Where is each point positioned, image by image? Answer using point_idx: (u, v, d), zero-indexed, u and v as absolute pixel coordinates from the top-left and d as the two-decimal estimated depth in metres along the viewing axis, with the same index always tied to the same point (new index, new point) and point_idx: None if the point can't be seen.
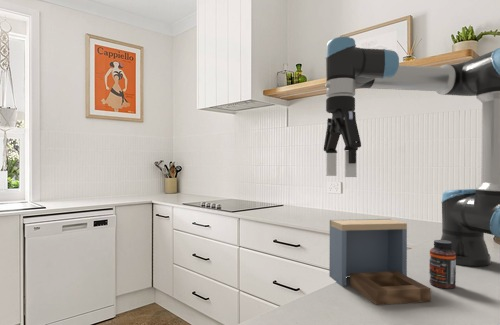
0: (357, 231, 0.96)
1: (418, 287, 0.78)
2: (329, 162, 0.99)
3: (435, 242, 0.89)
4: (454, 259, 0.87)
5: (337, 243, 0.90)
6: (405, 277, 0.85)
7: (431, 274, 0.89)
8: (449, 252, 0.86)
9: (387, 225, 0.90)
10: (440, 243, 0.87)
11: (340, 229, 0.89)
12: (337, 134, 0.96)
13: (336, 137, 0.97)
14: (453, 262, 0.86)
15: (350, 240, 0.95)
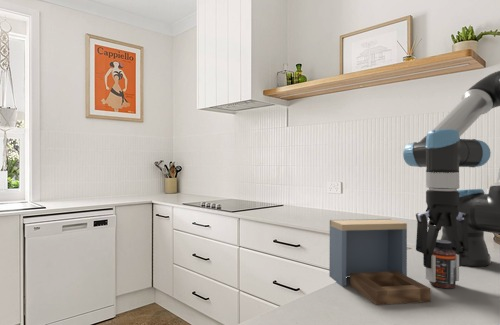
0: (357, 231, 0.96)
1: (418, 287, 0.78)
2: None
3: None
4: (454, 259, 0.87)
5: (337, 243, 0.90)
6: (405, 277, 0.85)
7: None
8: (449, 252, 0.86)
9: (387, 225, 0.90)
10: (440, 243, 0.87)
11: (340, 229, 0.89)
12: (449, 229, 0.89)
13: (450, 233, 0.89)
14: (453, 262, 0.86)
15: (350, 240, 0.95)
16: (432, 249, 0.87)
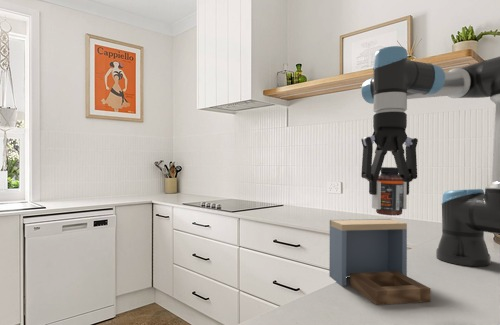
0: (357, 231, 0.96)
1: (418, 287, 0.78)
2: None
3: (381, 168, 0.83)
4: (400, 184, 0.81)
5: (337, 243, 0.90)
6: (405, 277, 0.85)
7: None
8: (395, 176, 0.81)
9: (387, 225, 0.90)
10: (386, 168, 0.82)
11: (340, 229, 0.89)
12: (397, 155, 0.84)
13: (398, 159, 0.84)
14: (399, 187, 0.81)
15: (350, 240, 0.95)
16: (377, 174, 0.82)
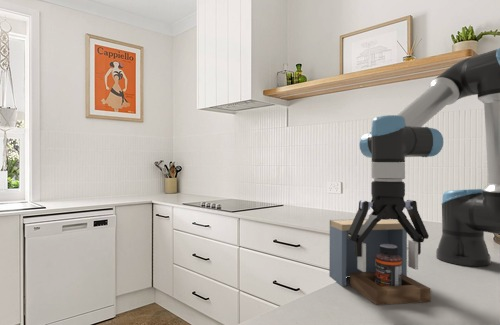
0: None
1: (418, 287, 0.78)
2: (410, 251, 0.85)
3: (380, 247, 0.83)
4: (399, 265, 0.81)
5: (337, 243, 0.90)
6: (405, 277, 0.85)
7: (376, 281, 0.83)
8: (394, 257, 0.81)
9: (387, 225, 0.90)
10: (385, 248, 0.82)
11: (340, 229, 0.89)
12: (401, 220, 0.83)
13: (403, 223, 0.84)
14: (398, 268, 0.81)
15: (350, 240, 0.95)
16: (363, 237, 0.81)
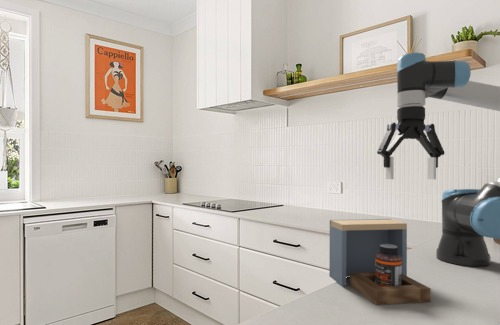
0: (357, 231, 0.96)
1: (418, 287, 0.78)
2: (429, 166, 1.04)
3: (380, 247, 0.83)
4: (399, 265, 0.81)
5: (337, 243, 0.90)
6: (405, 277, 0.85)
7: (376, 281, 0.83)
8: (393, 257, 0.81)
9: (387, 225, 0.90)
10: (385, 248, 0.82)
11: (340, 229, 0.89)
12: (421, 140, 1.02)
13: (423, 142, 1.02)
14: (398, 268, 0.81)
15: (350, 240, 0.95)
16: (391, 151, 1.00)
